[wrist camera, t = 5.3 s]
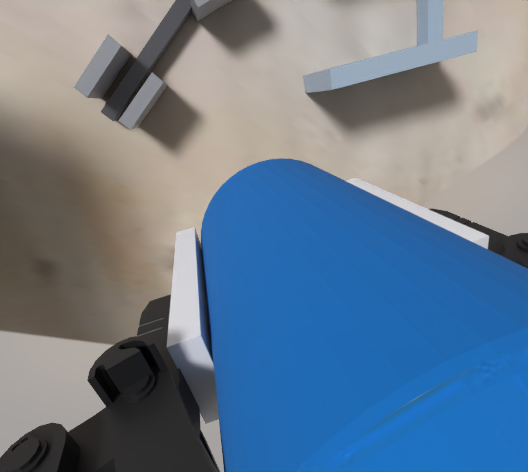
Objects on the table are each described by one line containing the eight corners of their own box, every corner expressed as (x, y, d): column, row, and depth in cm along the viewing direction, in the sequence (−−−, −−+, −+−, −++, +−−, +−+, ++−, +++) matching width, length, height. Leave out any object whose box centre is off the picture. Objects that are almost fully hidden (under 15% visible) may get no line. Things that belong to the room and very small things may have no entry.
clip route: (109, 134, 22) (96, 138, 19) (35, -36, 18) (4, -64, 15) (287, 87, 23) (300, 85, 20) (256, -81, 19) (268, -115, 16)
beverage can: (353, 254, 15) (743, 605, 5) (236, 310, 15) (361, 826, 4) (316, 129, 12) (1138, 284, 2) (171, 195, 12) (54, 891, 1)
